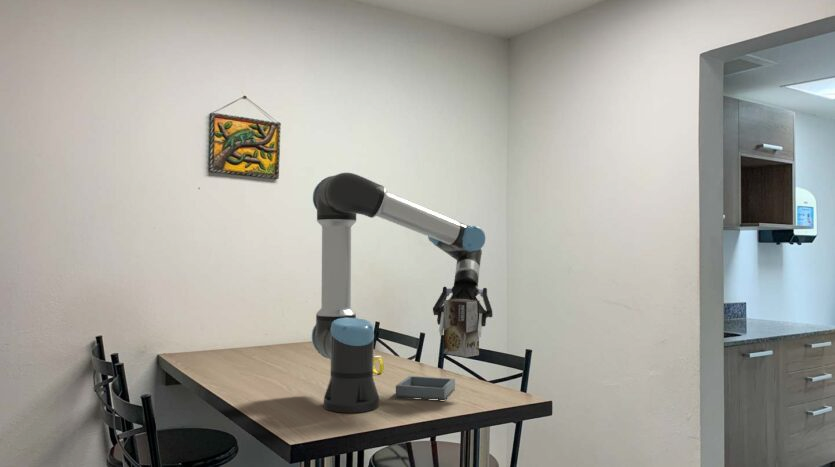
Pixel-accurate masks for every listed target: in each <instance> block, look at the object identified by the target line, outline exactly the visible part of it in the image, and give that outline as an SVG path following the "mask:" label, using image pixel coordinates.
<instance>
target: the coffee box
mask: <svg viewBox="0 0 835 467" xmlns="http://www.w3.org/2000/svg"><path fill="white" fill-rule="evenodd" d="M479 302H480V300H466V299H450V298H449V299H446V300H444V304H443V305H444V329H443V354H445V355H449V356H457V357H461V358H462V357H463V358H469V357H474V356H479V355H480V337H478V323H479V314H480V313H479ZM480 303H481V302H480Z"/></svg>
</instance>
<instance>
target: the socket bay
mask: <svg viewBox="0 0 835 467" xmlns="http://www.w3.org/2000/svg"><path fill="white" fill-rule="evenodd" d="M454 390H455V391H456V378H448V377H433V376H432V377H431V376H420V375H419V376H418V375H408V376H407V377H405V378H404V379H403V380H402V381H401V382H399V383H397V384H396V385H395V398H396V397H397V398H396V399H406V398H421V399H438V400H445V399H446V398H447V397H448V396H449V395H450V394H451V393H452V392H453V391H454ZM455 391H454V392H455ZM454 392H453V393H454ZM453 393H452V394H453ZM452 394H451V395H452ZM451 395H450V396H451ZM450 396H449V397H450ZM449 397H448V398H449ZM448 398H447V399H448ZM447 399H446V400H447ZM446 400H445V401H446Z"/></svg>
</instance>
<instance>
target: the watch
mask: <svg viewBox="0 0 835 467" xmlns="http://www.w3.org/2000/svg"><path fill="white" fill-rule="evenodd" d="M376 360H378V362H379V370H378V371H377V369H376V366H375V364H376V363H375V362H376ZM383 372H384V361H383V358H382V356H381V355H373V374H377V375H380V374H382V373H383Z"/></svg>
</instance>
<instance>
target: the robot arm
mask: <svg viewBox="0 0 835 467" xmlns="http://www.w3.org/2000/svg"><path fill="white" fill-rule="evenodd" d="M312 202H313V206H314V208H315V209H316V222H317V223H318V224H319V225H320V226H321V308H320V309H319V310H318V311H317V312H316V313H315V324H314V326H313V328H312V331H311V342H312V345H313V347H314V349H315V350H316V351H317V352H318V354H320V355H321V356H323V358H326V359H330V377H329V378H330V379H329V382H328V384H327V388H326V391H325V393H324V396H323V408H324V409H326V410H328V411H330V412H333V413H334V412H335V413H344V414H345V413H347V414H348V413H349V414H353V413H356V414H357V413H364V412H365V413H366V412H369V411H373V410H376V409H377V408H379V407H380V396H379V393H378V389H377V386H376V382H375V380H374V373H373V357H374V346H375V345H374V341H375V340H374V339H375V334H374V326H373V323H371V321H369V320H366V319H363V318H358V317H357V314H356V311H355V310H353V308H352V307H351V306H352V304H351V303H352V302H351V301H352V295H351V293H352V289H351V288H352V227H353V226H354V224H355V223H357V215H362V216H363V215H364V216H366V217H368V218H372V219H373V218H375V217H378V218H380V219H383V220H386V221H388V222H391V223H393V224H396V225H399V226H401V227H404V228H406V229H408V230H411V231H414V232H417V233H418V234H421V235H424V236H427V238H428V241H430V243H431V244H433V245H434V246H435V247H437V248H438V249H440V250H441V251H443V252H444V253H446V254H448V255H449V256H450V257H452V259H455V260H456V264H455V265H456V266H455V272H454V282H453V286H452V287H451V288H447V286H443V287H442V291H441V293H440V295H439V297H438V298H437V300H436V302H435V304H434V306H433V308H432V313H433V316H437V318H436V321H437V322H436V323H437V325H439V327H438V328H439V329H438V331H439V336H444V300H447V298H448V297H449V295H450V294H451V297H449V299H466V300H478V298H477V296H478V295H480V297H481V298H482V300H483V304H484V306H485V308H484V306H483V305H482V304H481V302H479V323H478V337H479V338H481V337H482V331H483V330H482V327H486V326H487V324H486V323H487V318H493V316H494V315H493V309H492V305H491V302H490V301H489V297H488V288H487V287H483V288H482V289H479V287H478V286H479V278H480V268H481V260H482V253H483V252H482V251H483V250H482V248H483V247H484V246H485V243H486V234H485V231H484V230H483V229H482V228H481V227H479V226H477V225H467V224H465V223H463V222H460V221H457V220H455V219H453V218H450V217H448V216H446V215H444V214H441V213H439V212H436V211H434V210H431V209H429V208H427V207H425V206H422V205H420V204H417V203H415V202H413V201H410V200H408V199H406V198H403V197H401V196H399V195H396V194H394V193H391V192H389V191H387V189H386V187H385V186H384V185H381V184H379V183H377V182H374V181H373V180H370V179H369V178H366V177H363V176H362V175H359V174H356V173H353V172H352V173H351V172H340V173H338V174H335V175H330V176H327V177H325V178H323V179H322V180H321V181H320V182H318V184H316V186H315V187H314V190H313V193H312ZM478 301H479V300H478Z"/></svg>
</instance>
